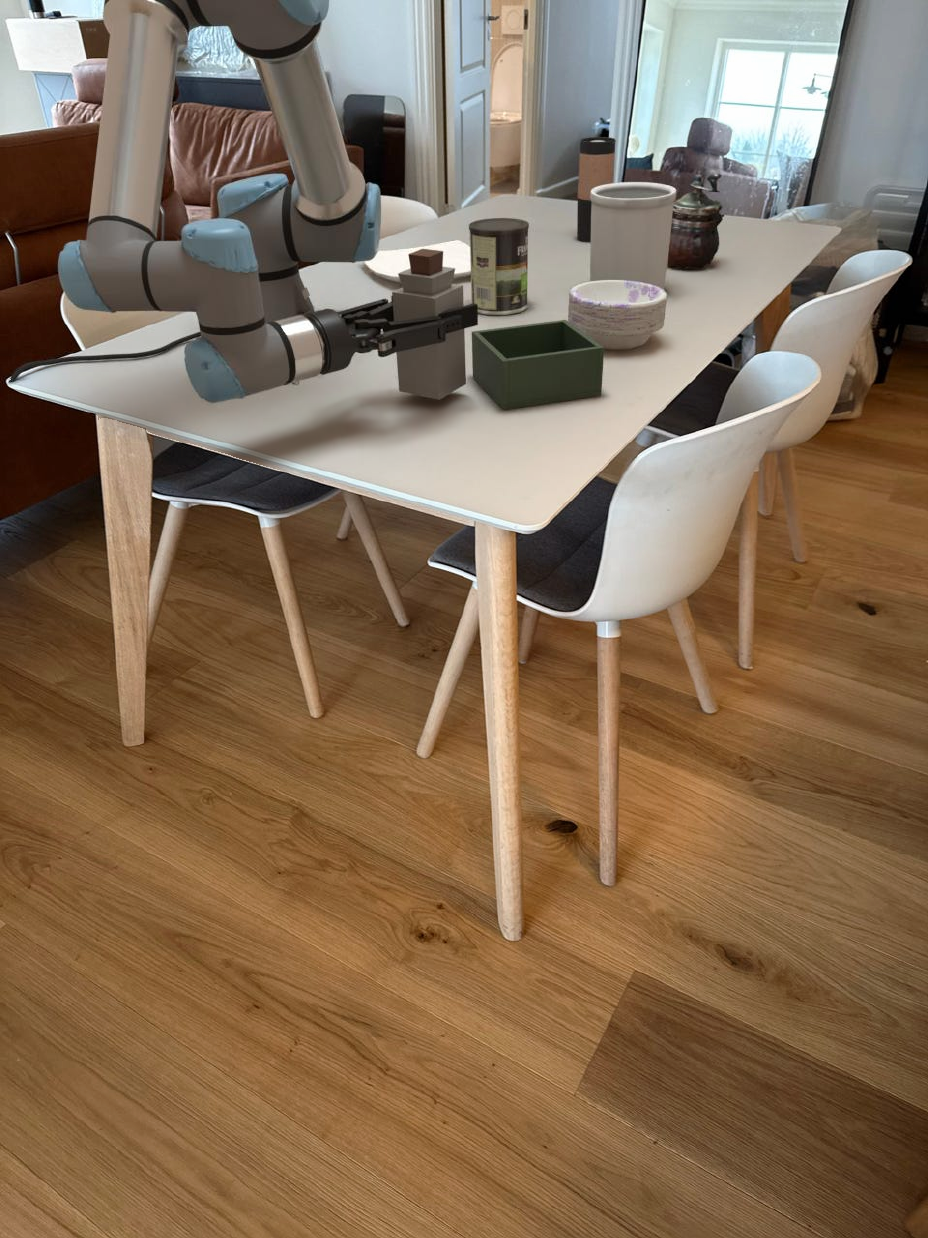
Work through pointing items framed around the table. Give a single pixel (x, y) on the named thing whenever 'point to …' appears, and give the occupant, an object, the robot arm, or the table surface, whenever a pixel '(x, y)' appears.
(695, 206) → the coffee grinder
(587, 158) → the travel mug
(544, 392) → the tote
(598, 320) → the paper bowls
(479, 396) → the table surface
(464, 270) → the plate
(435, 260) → the perfume bottle
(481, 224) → the coffee can
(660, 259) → the utensil holder
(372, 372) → the table surface
